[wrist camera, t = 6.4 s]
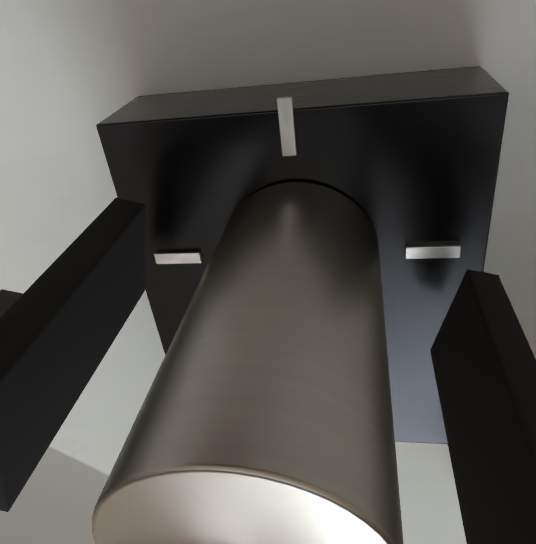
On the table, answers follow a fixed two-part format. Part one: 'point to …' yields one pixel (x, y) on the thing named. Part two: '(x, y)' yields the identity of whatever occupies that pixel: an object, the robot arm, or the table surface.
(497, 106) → the stove panel
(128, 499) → the stove knob
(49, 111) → the table surface
